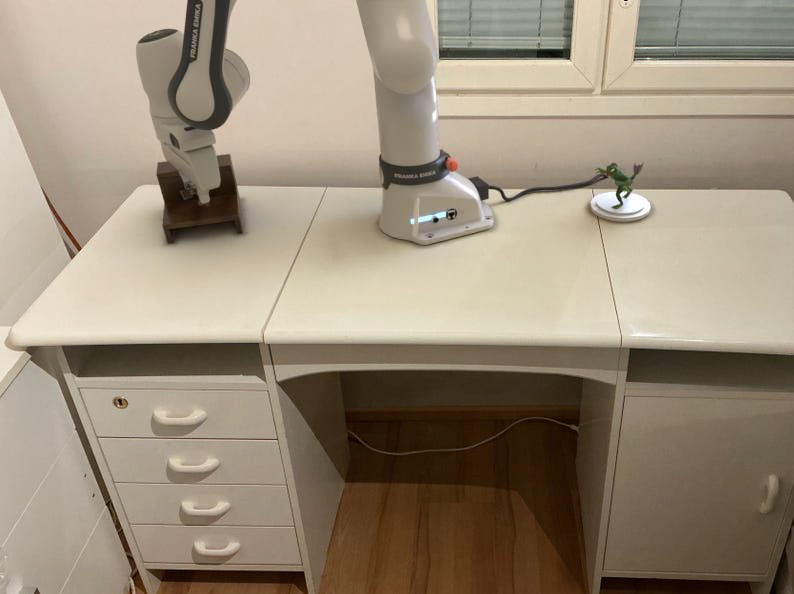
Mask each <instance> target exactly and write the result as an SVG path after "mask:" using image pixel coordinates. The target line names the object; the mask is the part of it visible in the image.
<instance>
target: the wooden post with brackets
mask: <svg viewBox="0 0 794 594" xmlns="http://www.w3.org/2000/svg"><path fill="white" fill-rule="evenodd" d="M180 192H181V194H182V196H183V198H184V200H185V199H188V198H191V197H193V196H192V195H193V194H196V193H198V192H197V187H196V188H194V189H192V190H190V191H187V190H186V189H185V190H182V191H180ZM197 202H198V204H199V206H202V205H206V207H209V206H210V205H209V203H204V204H202V203H201V202H200V201H197Z"/></svg>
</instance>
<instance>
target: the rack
mask: <svg viewBox="0 0 794 594" xmlns="http://www.w3.org/2000/svg"><path fill="white" fill-rule="evenodd" d="M216 156H217V160H218V166H219V172H220V179H221V182H220V186H219V187H218V188H215V189H211V190H209V197H210V201H209V202H208V203H209V205H210V206H209V207H206V205H202V206H199V204H198V202H197V201H199V200H198V197H197V193H196V194H193V195H192V196H193V197H191V198H188V199H185V200H184V198H183V196H182V194H181V192H180V191H182V190H185V186H184V182H183V180H182V178H181V176H180V174H179V172H178V170H177V169H176V168H175V167H174V166H173V165H171V164H170V163H169V162H168V161H167V160H166V161H158V162H157V166H156V173H155V175H156V178H157V181H158V185H159V189H160V193H161V196H162V199H163V203H164V204H163V213H162V225H161V226H162V229H163V233H164V236H165V239H166V243H167V244H170V245H171V244H174V235H175V229H178V228H179V229H181V228H187V227H188V228H189V227H195V226H203V225H209V224H216V223H225V222H231V221H232V222H233V221H234V223H235V230H236V232H237V233H236V234H237V235H242V234H244V230H243V218H242V206H241V197H240V193H239V188H238V184H237V179H236V174H235V169H234V166H233V165H234V164H233V161H232V155H231V154H230V153H227V154H216Z"/></svg>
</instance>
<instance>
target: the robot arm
mask: <svg viewBox="0 0 794 594" xmlns="http://www.w3.org/2000/svg"><path fill="white" fill-rule="evenodd" d="M186 1H187V2H186V10H185V19H184V29H183V32H182V31H180V30H179V29H176V28H163V29H159V30H155V31H152V32H150V33H148V34H147V33H146V35H144V36H142V37H141V38H140V39H139V40H138V41H137V43H136V45H135V57H136V63H137V69H138V73H139V77H140V81H141V85H142V89H143V91H144V92H145V94H146V96H147V98H148V102H149V113H150V118H151V121H152V125H153V129H154V133H155V135H156V139H157V140H158V141H159V143H160V147H161V152H162V155H163V157H164V159H165V160H166V161H168V162H169V163H170V164H171V165H173V166H174V167H175V168H176V169H177V170H178V172H179V174H180V176H181V178H182V180H183V182H184V186H185V189H186V190H187V191H190V190H192V189H194V188H196V187H197V192H198V193H197V197H198V200H199V201H200V202H201V203H202V204H204V203H208V202H209V201H210V197H209V190H211V189H215V188H218V187H219V186H220V182H221V179H220V172H219V166H218V160H217V153H216V149H215V147H214V145H216V143H217V140H216V136H215V133H214V132H213V130H214V131H215V130H217V129H219V128H220V127H222V126H224V124H225V123H226V122H227V120H228V119H229V117H230V114H231V113H232V112H233V110H234V109H235V108H236V107H237V105H238V104H239V103H240V101H241V100H242V99H243V98H244V96H245V95H246V93H247V92H248V91H249V89H250V84H251V74H250V71H249V68H248V66H247V64H246V63H245V61H244V60H243V59H242V58H241V57H240V56H239V54H238V53H236V52H234V51H232V50H231V49H229V48H226V47H227V39H228V33H229V32H228V31H229V25H230V20H231V15H232V12H233V10H234V8H235V5H236V3H237V1H238V0H186ZM355 1H356V6H357V9H358V10H357V11H358V13H359V17H360V22H361V26H362V30H363V35H364V39H365V41H366V46H367V51H368V53H369V54H368V55H369V57H370V61H371V65H372V72H373V82H374V96H375V105H376V117H377V128H378V129H377V130H378V139H379V150H380V151H379V152H380V154H379V156H378V171H379V179H380V184H381V187H382V202H381V212H380V218H379V222H378V226H379V229H380V230H381V232H383V233H384V234H385V235H387V236H389V237H391V238H394V239H398V240H404V241H411V242H412V243H415V244H418V245H421V246H427V245H432V244H436V243H439V242H440V243H441V242H445V241H448V240H452V239H457V238H459V237H464V236H468V235H471V234H475V233H479V232H483V231H488V230H490V229H492V227H493V226H494V223H495V222H494V221H495V219H494V215H493V211H492V210H491V208H490V206H489V205H488V204H487V203H486V202H485V201H486V200H489V199H490V198H489V197H490V191H489V190H495V191H497V192H499V193H500V196H501V198H502V200H504V201H505V202H512V201H514V200H517V199H519V198H521V197H522V196H524V195H526V194H529V193H532V192H542V191H545V192H546V191H559V190H567V189H573V188H579V187H582V186H586V185H589V184H592V183H594V182H595V181H596V180H598V179H599V178H601V177H602V178H605V179H609V178H610V176H607V175H606V173H605V174H602V175H601V173H600V172H599V173H597V174H596V175H595V176H594V177H592V178H590V179H589V180H584V181H582V182H577V183H571V184H564V185H556V186H555V185H554V186H538V187H530V188H527V189H523V190H522V191H520V192H519V193H517V194H516V195H514V196H512V197H508V196H506V193H505V192H504V190H503V189H502V188H501V187H499V186H495V185H490V184H489V183H487V182H486V181H484V180H483V179H482V178H481V177H479V175H477V176H473V177H466V176H464V175H462V174H460V173H459V172H457V169H458V168H459V164H458V162H456V159H455V158H453V157H452V156H451V155H450V153H448V152H446V151H445V150H444V149H443V147H441V145H440V144H441V143H440V141H441V140H440V124H439V123H440V122H439V121H440V120H439V105H438V96H437V83H436V70H437V67H438V61H439V54H438V48H437V47H438V46H437V43H436V38H435V34H434V30H433V26H432V22H431V21H432V20H431V17H430V13H429V9H428V4H427V0H355ZM599 175H600V176H599Z"/></svg>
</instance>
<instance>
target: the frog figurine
mask: <svg viewBox="0 0 794 594" xmlns="http://www.w3.org/2000/svg"><path fill="white" fill-rule="evenodd" d="M604 167H606V169H604V168H601V167H599V166H597V168H595V169H594V170H595V171H596V173H595V174H596V175H598V174H600V173H601V175H602V174H606V175H607V176H609V178H610V179H612V180H613V181H614V184H615V186H616V187H617V188H616V191H608V192H607V191H606V192H603V193H599V194H597V195H595V196H594V197H592V198H591V200H590V206H589V208H590V211H591V212H592V213H593V214H594V215H595V216H597V217H599V218H601V219H603V220H607V221H611V222H618V223H621V222H622V223H625V222H627V223H628V222H634V221H639V220H642V219H644V218H646V217H647V216H648V215H649V214H650V211H651V203H650V202H649V200H648V199H647V198H645V197H644V196H642V195H639V194H636V193H632V192H633V191H634V188H632V187H631V185H632V184H634V183H635V182H634V180H635V178H636V177H637V176H638V175H639V174H640V173H641V171H642V169H643V167H644V162H642V164H638V165H636V163H634V164H633V174H632V175H631V176H629V175H625V172H623V171H625V170H626V168H624V169H623V167H620V168H619V166H618V163H616V162H612V163H611V164H610V165H604ZM597 170H598V171H597ZM599 176H600V175H599Z"/></svg>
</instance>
